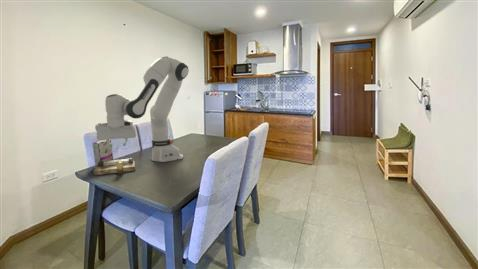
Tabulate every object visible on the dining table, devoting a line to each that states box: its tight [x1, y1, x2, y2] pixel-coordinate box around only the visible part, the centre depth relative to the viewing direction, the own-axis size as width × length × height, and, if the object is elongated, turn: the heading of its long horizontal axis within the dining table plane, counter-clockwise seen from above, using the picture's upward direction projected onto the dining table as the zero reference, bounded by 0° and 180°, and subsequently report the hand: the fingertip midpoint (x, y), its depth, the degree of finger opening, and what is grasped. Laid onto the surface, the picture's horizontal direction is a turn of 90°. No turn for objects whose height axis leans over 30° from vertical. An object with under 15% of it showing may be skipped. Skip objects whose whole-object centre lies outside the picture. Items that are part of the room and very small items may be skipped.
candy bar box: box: [92, 139, 114, 167], centre depth 155 cm, size 11×5×16 cm, turn 168°
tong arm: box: [98, 159, 129, 167], centre depth 149 cm, size 17×2×2 cm, turn 114°
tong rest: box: [93, 160, 136, 176], centre depth 148 cm, size 22×13×2 cm, turn 114°
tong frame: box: [98, 157, 134, 163], centre depth 150 cm, size 20×3×3 cm, turn 114°
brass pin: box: [116, 162, 124, 176], centre depth 141 cm, size 3×3×7 cm
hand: (118, 146), depth 138 cm, fingers open, 6 cm apart
